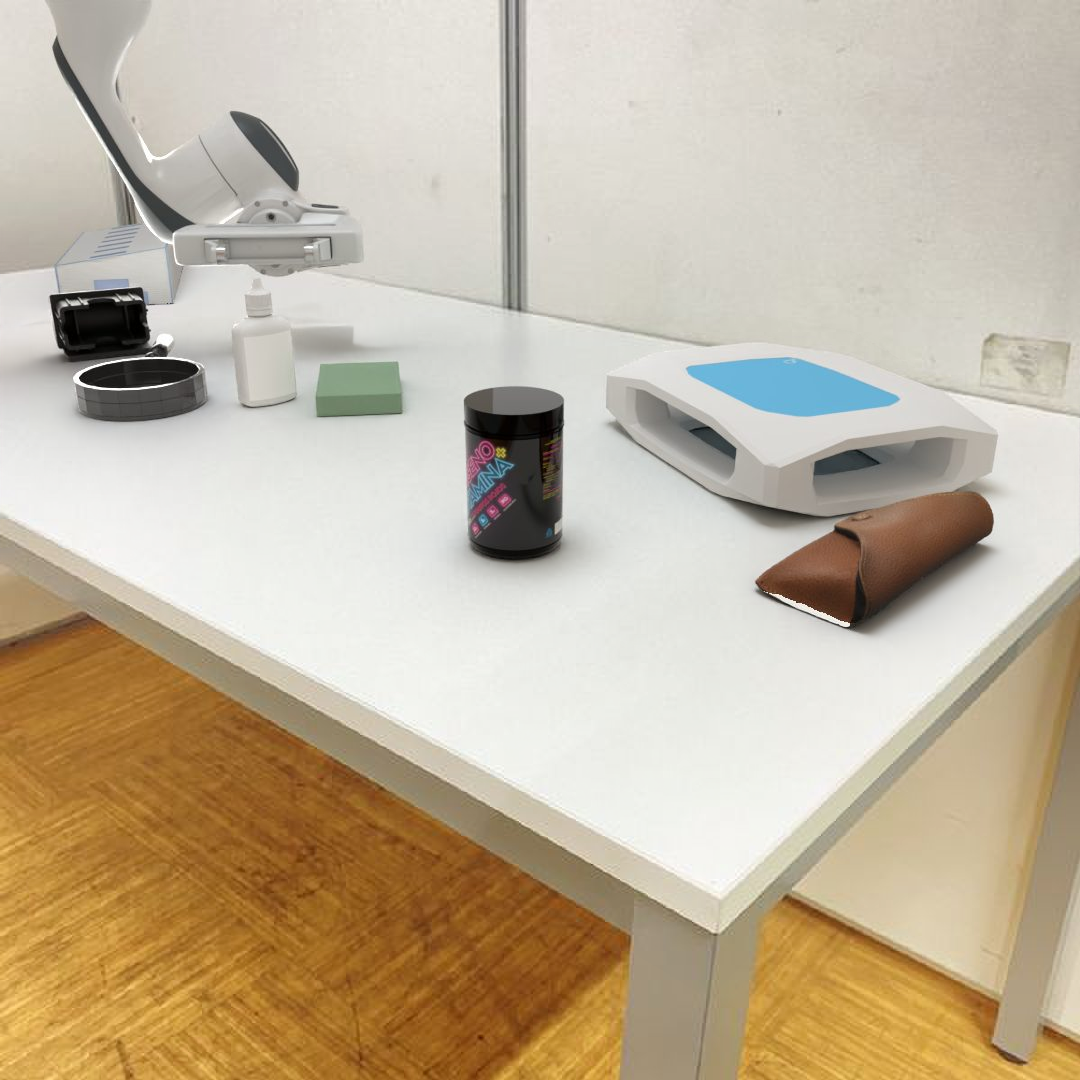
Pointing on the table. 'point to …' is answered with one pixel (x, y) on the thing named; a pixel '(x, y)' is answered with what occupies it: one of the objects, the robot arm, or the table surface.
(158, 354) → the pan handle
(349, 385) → the block
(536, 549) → the supplement container
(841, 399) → the white step platform
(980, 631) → the table surface
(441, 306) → the table surface
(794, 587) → the sunglasses case
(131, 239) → the warehouse
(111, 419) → the pan
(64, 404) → the table surface
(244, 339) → the eye dropper bottle
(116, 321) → the end cap
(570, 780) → the table surface
